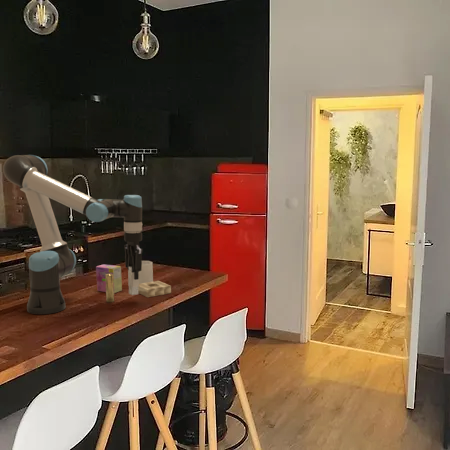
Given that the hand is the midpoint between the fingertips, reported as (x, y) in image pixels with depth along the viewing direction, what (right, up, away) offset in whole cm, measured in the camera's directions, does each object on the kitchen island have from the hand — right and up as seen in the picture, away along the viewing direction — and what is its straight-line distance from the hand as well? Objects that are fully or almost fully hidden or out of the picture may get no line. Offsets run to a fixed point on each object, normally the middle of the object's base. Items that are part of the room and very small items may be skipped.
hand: (133, 285), depth 228 cm
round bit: (-10, -7, +3) cm, 13 cm away
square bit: (0, -4, +1) cm, 4 cm away
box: (-15, -5, +21) cm, 26 cm away
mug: (0, -3, +32) cm, 32 cm away
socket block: (+6, -5, +17) cm, 19 cm away
